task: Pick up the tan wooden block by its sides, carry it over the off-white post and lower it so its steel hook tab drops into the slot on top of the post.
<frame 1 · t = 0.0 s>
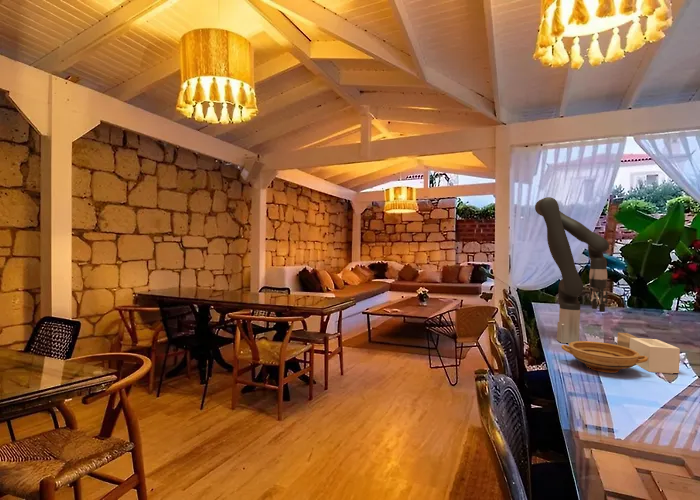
hand: (598, 310, 198), 17 cm above the table, tool pointing down, fingers open, 8 cm apart
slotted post: (652, 366, 163), on the table
tan wooden block: (627, 354, 181), on the table
ceramic bowl: (602, 368, 160), on the table
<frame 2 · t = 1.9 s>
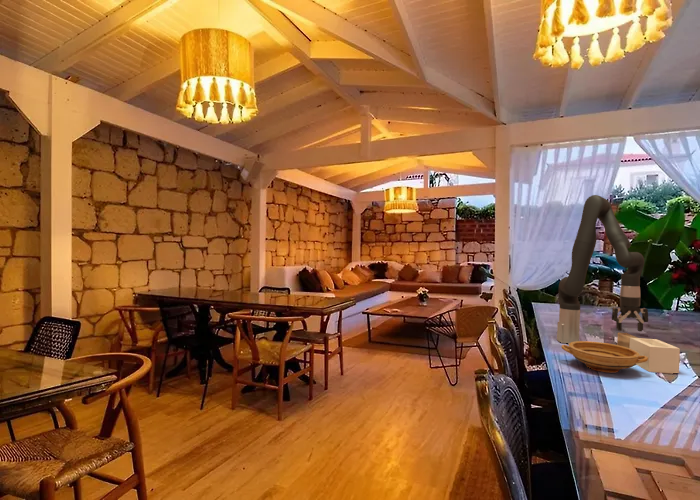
hand: (629, 330, 181), 11 cm above the table, tool pointing down, fingers open, 8 cm apart
nothing on the table moved.
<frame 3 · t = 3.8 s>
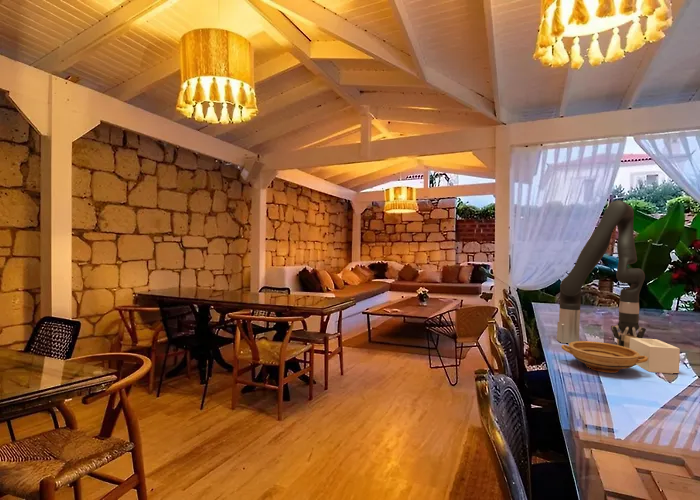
hand: (627, 348, 181), 3 cm above the table, tool pointing down, fingers closed on tan wooden block, 4 cm apart
tan wooden block: (627, 354, 181), on the table, touching gripper
everything else where it was.
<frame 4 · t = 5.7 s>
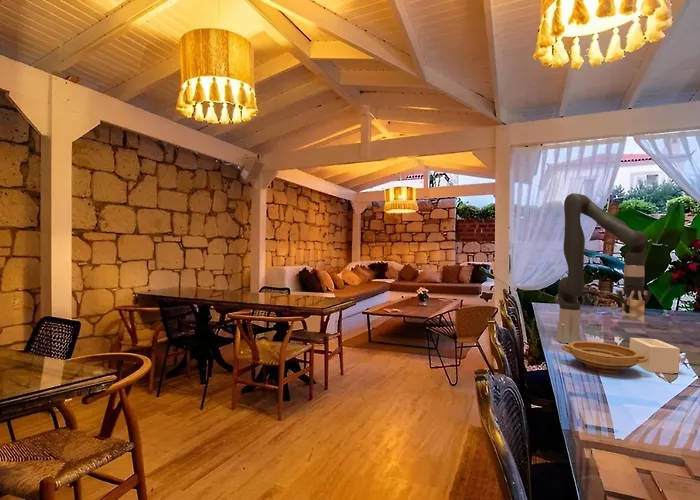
hand: (633, 313, 178), 20 cm above the table, tool pointing down, fingers closed on tan wooden block, 4 cm apart
tan wooden block: (632, 319, 178), point 17 cm above the table, touching gripper
everything else where it was.
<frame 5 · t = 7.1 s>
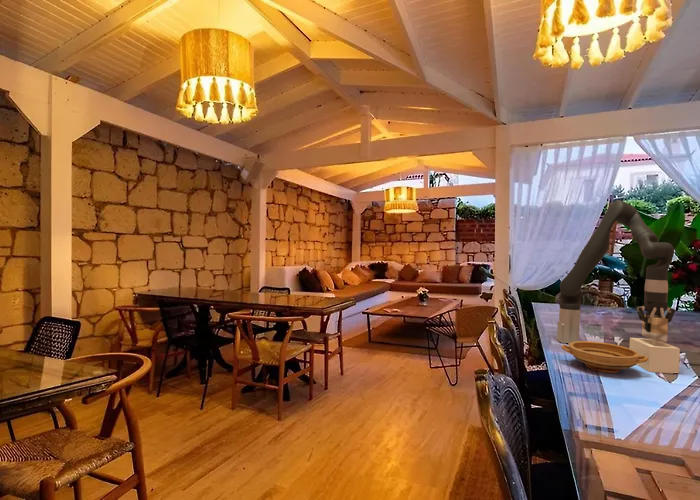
hand: (654, 331, 162), 14 cm above the table, tool pointing down, fingers closed on tan wooden block, 4 cm apart
tan wooden block: (654, 338, 163), point 12 cm above the table, touching gripper
everything else where it was.
when the fingers open (12 cm above the table, at t = 8.0 s): tan wooden block drops 2 cm, resting on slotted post.
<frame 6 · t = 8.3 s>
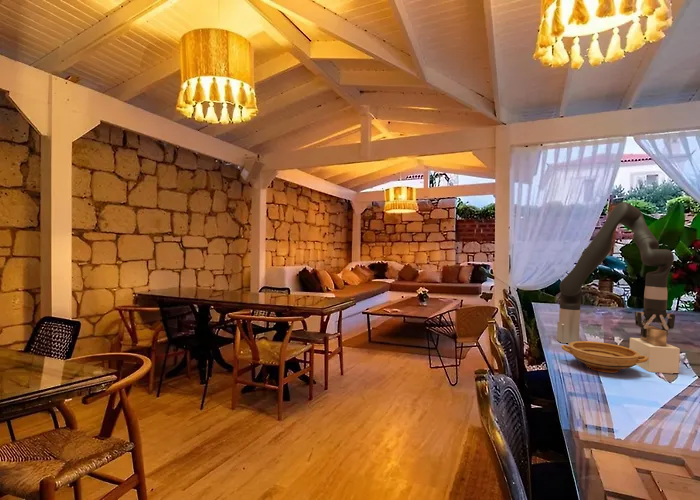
hand: (653, 337, 162), 12 cm above the table, tool pointing down, fingers open, 6 cm apart
tan wooden block: (652, 349, 163), point 7 cm above the table, touching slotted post
everything else where it was.
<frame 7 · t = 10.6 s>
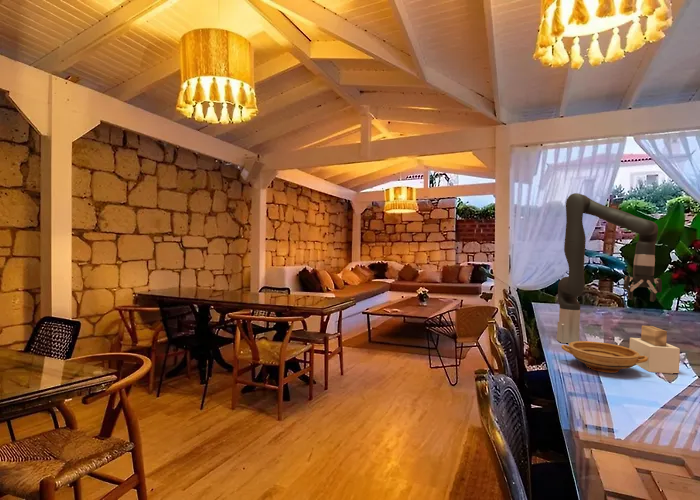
hand: (641, 300, 178), 25 cm above the table, tool pointing down, fingers open, 8 cm apart
nothing on the table moved.
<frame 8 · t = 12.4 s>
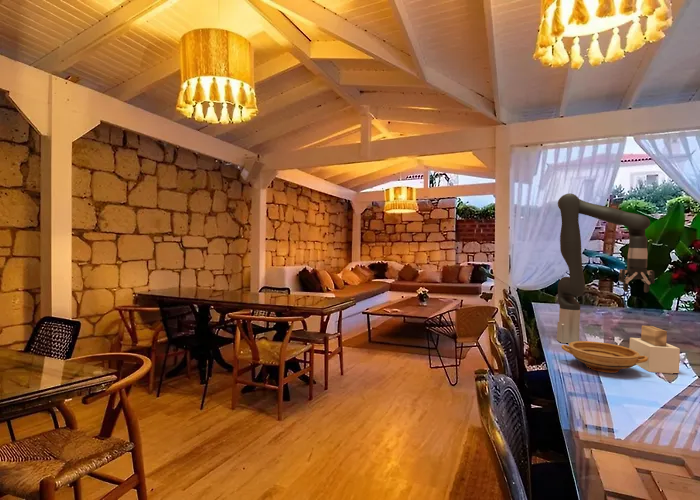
hand: (636, 291, 188), 28 cm above the table, tool pointing down, fingers open, 8 cm apart
nothing on the table moved.
at the end: tan wooden block 0.1 cm off-centre on the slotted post, point 7.0 cm above the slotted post's base; tan wooden block tilted 0°; the gripper is holding nothing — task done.
